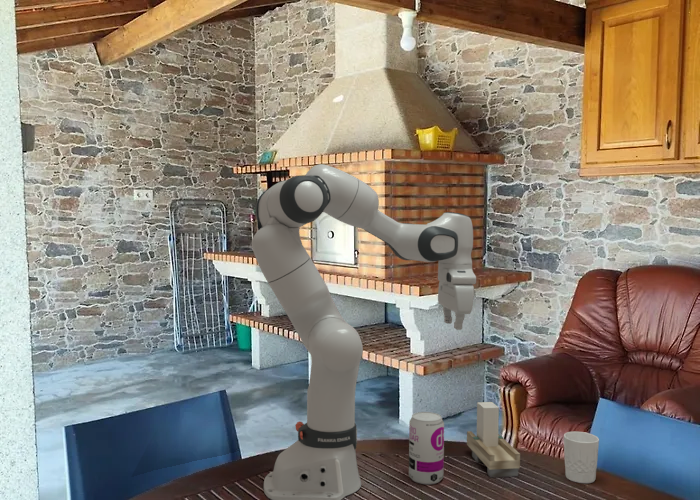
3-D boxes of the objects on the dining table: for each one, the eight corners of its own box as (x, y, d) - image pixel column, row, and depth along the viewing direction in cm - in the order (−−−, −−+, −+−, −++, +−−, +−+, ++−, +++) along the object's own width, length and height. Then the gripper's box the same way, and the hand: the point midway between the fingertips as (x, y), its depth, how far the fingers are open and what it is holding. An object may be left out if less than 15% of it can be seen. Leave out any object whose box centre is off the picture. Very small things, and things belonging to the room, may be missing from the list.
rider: (483, 446, 159) (483, 408, 158) (476, 440, 164) (477, 402, 163) (498, 446, 159) (498, 407, 159) (491, 439, 164) (491, 401, 164)
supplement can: (450, 478, 149) (450, 416, 148) (429, 488, 143) (430, 424, 142) (422, 468, 155) (423, 409, 154) (401, 478, 149) (402, 416, 148)
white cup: (600, 486, 145) (601, 443, 145) (565, 483, 147) (566, 441, 146) (594, 472, 153) (595, 432, 152) (560, 470, 154) (561, 430, 154)
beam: (489, 477, 149) (489, 454, 149) (466, 451, 166) (466, 430, 166) (519, 476, 150) (520, 453, 150) (494, 450, 167) (494, 429, 167)
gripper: (433, 270, 175) (431, 319, 175) (454, 277, 154) (451, 333, 155) (455, 271, 175) (453, 320, 176) (478, 278, 155) (476, 333, 156)
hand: (452, 326), depth 165 cm, fingers open, 8 cm apart
